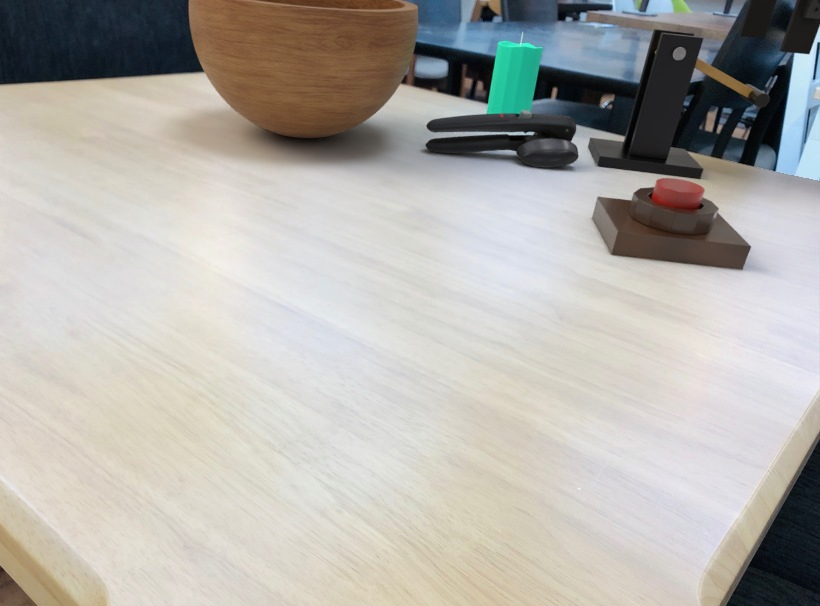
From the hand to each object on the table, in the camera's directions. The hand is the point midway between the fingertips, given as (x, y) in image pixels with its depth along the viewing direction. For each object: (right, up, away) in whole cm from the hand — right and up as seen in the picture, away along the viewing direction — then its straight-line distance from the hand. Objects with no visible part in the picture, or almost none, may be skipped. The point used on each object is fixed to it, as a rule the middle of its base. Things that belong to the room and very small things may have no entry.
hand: (771, 44), depth 79 cm
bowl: (-53, -9, +5) cm, 54 cm away
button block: (-19, -24, -16) cm, 34 cm away
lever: (-6, -3, +3) cm, 7 cm away
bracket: (-11, -11, +8) cm, 18 cm away
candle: (-26, -3, +19) cm, 33 cm away
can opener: (-30, -12, +4) cm, 32 cm away
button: (-18, -21, -17) cm, 33 cm away
